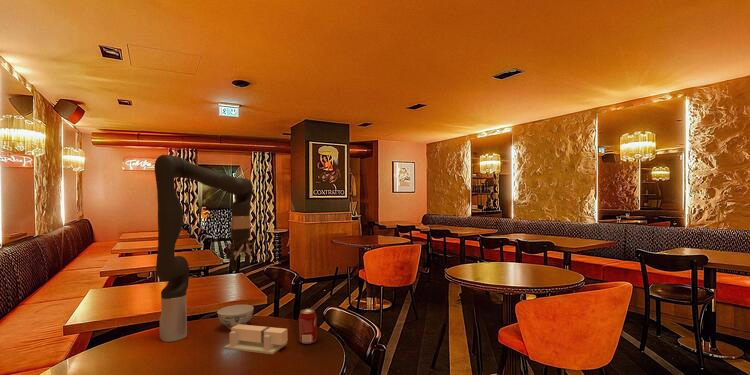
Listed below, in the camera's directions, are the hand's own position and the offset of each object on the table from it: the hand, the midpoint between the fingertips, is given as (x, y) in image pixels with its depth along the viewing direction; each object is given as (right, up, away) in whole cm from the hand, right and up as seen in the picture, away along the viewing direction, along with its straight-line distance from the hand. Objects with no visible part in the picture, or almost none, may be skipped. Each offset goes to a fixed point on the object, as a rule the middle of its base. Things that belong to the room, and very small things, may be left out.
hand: (240, 267), depth 153 cm
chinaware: (-7, -30, +14) cm, 33 cm away
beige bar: (+10, -26, -8) cm, 29 cm away
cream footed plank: (+9, -29, -8) cm, 31 cm away
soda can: (+28, -29, -5) cm, 40 cm away
